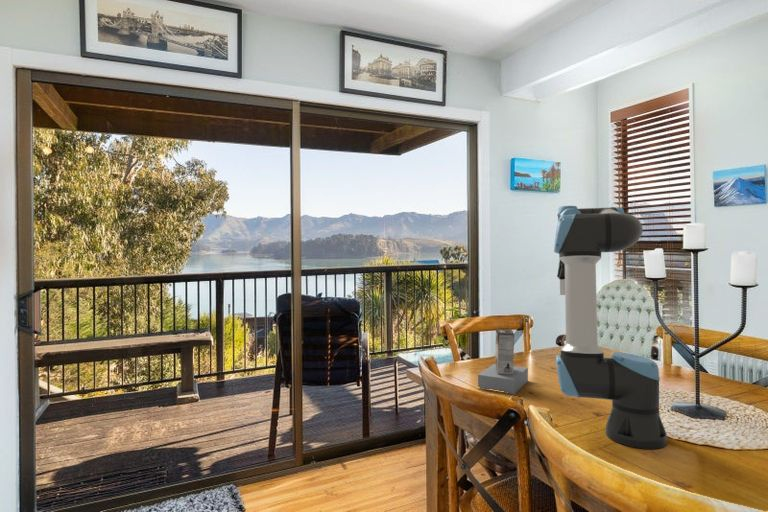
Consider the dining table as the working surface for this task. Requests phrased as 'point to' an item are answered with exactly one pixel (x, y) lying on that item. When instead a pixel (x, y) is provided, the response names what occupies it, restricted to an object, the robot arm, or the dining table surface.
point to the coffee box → (504, 351)
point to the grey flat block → (503, 379)
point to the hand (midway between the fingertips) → (568, 296)
